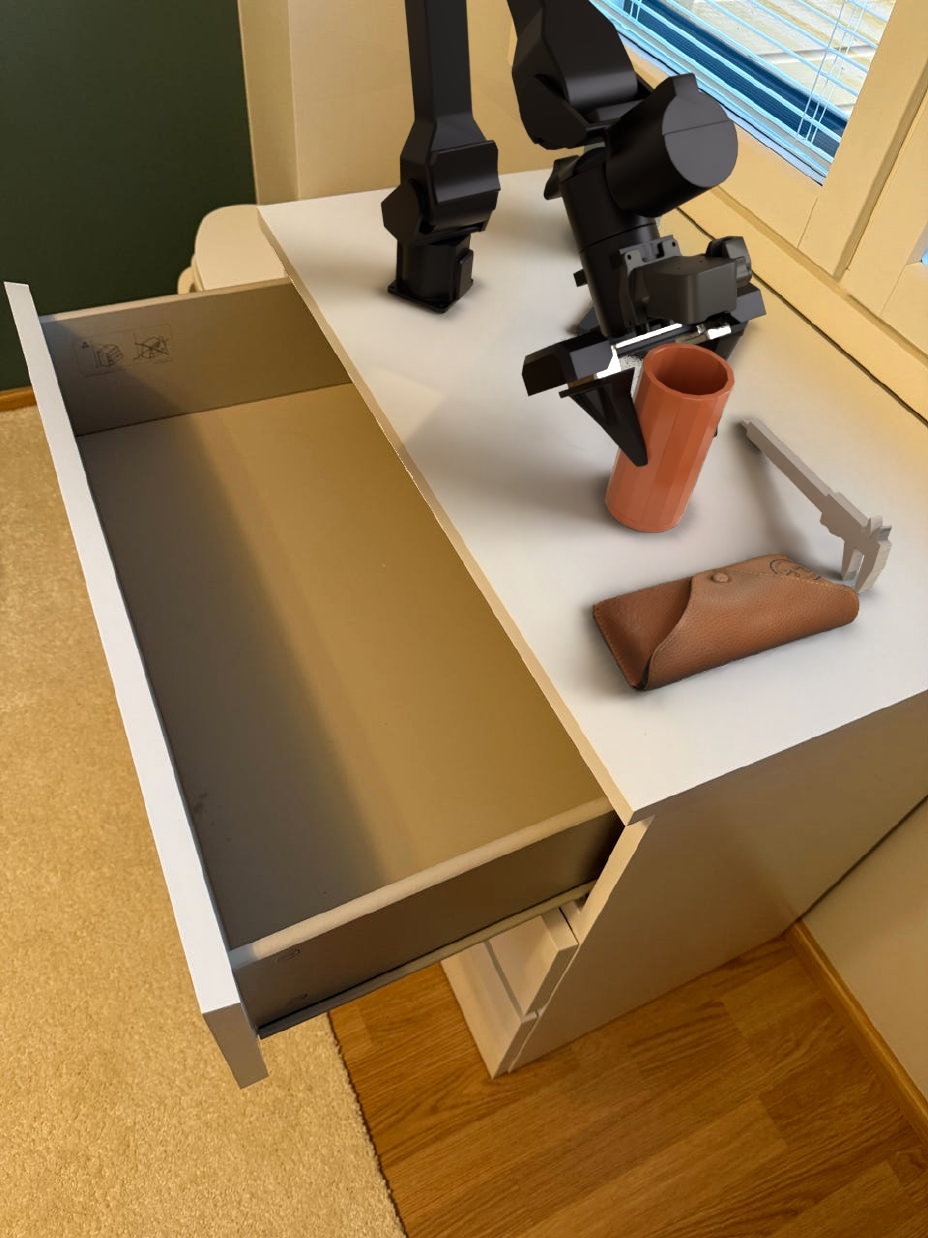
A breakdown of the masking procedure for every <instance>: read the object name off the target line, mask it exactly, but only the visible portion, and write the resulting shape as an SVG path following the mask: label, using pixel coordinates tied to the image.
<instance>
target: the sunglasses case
mask: <svg viewBox="0 0 928 1238" xmlns="http://www.w3.org/2000/svg"><path fill="white" fill-rule="evenodd" d="M853 589H854V588H853V587H851V586H849V585H846V584H842V583H836V582H832V581H831V580H828V579H827V578H825V577H823V576H822V575H820V574H818V573H816V572H815V571H812V570H810V569H808V568H806V567H804V566H803V565H801V564H800V563H797V562H795V561H793V560H791V558H790V557H789V556H788V555H787V554H786V553H776V552H775V553H770V554H766V555H762V556H758V557H753V558H750V559H746V560H743V561H739V562H736V563H735V562H734V563H732V564H729V565H724V566H722V567H716V568H712V569H707V570H704V571H700V572H698V573H695V574H694V575H690V576H686V577H682V578H678V579H676V580H672V581H667V582H664V583H660V584H659V583H658V584H656V585H652V586H649V587H646V588H641V589H638V590H634V591H629V592H627V593H626V592H625V593H623V594H618V595H615V596H612V597H608V598H606V599H603V600H601V601H599V602H596V603H594V604H593V606H592V617H593V619H594V621H595V623H596V624H595V625H596V626H597V627H598V629H599V632H600V634H601V637H602V638H603V640H604V643H605V644H606V647H607V649H608V650H609V651H610V653H611V655H612V657H613V658H614V661H615V663H616V664H617V666H618V667H619V670H620V671H621V673H622V675H623V676H624V678H625V680H626V682H627V683H628V685H629V687H631V688H632V689H633V690H635V691H637V692H640V693H642V692H643V693H645V692H651V691H655V690H657V689H661V688H663V687H667V686H668V685H669V686H670V685H673V684H674V683H675V684H676V683H677V682H681V681H683V680H685V679H688V678H691V677H693V676H696V675H699V674H702V673H704V672H708V671H712V670H714V669H716V668H719V667H722V666H725V665H728V664H730V663H734V662H737V661H740V660H742V659H745V658H748V657H752V656H755V655H758V654H760V653H763V652H766V651H770V650H773V649H775V648H779V647H782V646H785V645H788V644H791V643H794V642H798V641H801V640H803V639H807V638H811V637H813V636H816V635H819V634H822V633H827V632H830V631H833V630H836V629H838V628H841V627H842V628H843V627H844V626H847V625H849V624H851V623H853V622H854V621H855V619H856V618H857V617H858V615H859V611H860V599H859V596H858V594H857V593H856V592H855V591H854V590H853Z"/></svg>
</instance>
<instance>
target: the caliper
mask: <svg viewBox="0 0 928 1238" xmlns="http://www.w3.org/2000/svg"><path fill="white" fill-rule="evenodd" d="M740 424H741V425H742V426H743V427H744V428H745V429H746V434H745V435H746V437H747V438H748V439H749V440H750V441H751V442H752V443H753V444H754V445H755V446H756V447H757V448H758V449H759V450H760V451H761V453H762V454H764V455H765V456H766V457H767V458H768V459H769V461H771V462H772V464H773V465H775V467H776V468H778V469H779V471H780V472H781V473H782V474H784V476H786V478H787V479H788V480H789V481H790V482H791V483H792V484H793V485H794V486H795V487H796V488H797V489H798V490H799V491H800V492H801V493H802V494H803V495H804V496H805V497H806V499H807V500H809V501H810V502H811V503H812V504H813V505H814V507H816V509H817V510H818V511H819V512H820V513H821V514H820V518H819V523H820V524H821V525H822V526H824V527H826V528H827V530H828V532H829V533H830V534H831V535H834V536H835V537H838V538H840V539H842V540H843V548H842V549H843V550H842V558H841V559H842V560H841V567H840V574H841V580H842V581H851V580H854V579H855V578H856V580H855V583H854V586H853V588H852V589H853V590H854V591H855V592H856V594H857V593H859V594H860V593H864V592H869V591H871V589H872V588H873V586H874V585H875V583H876V582H877V580H878V578H879V576H880V575H881V573H882V572H883V570H884V569H885V567H886V564H887V562H888V558H889V556H890V553H891V549H892V546H893V543H892V542H891V541H890V540H889V537H890V533H891V531H892V528H893V525H891V524H890V525H884V523H883V522H884V520H883V519H884V518H883V515H879V516H873V517H869V518H868V517H867V516H866V515H865V514H864V513H863V512H861V510H860V509H859V508H858V507H856V505H854V504H853V502H851V501H850V500H849V499H848V498H847V497H846V496H845V495H844V494H843V493H841V491H838V492H837V491H836V492H835V491H833V490H832V489H831V487H829V486H828V484H826V483H825V482H824V481H823V480H822V478H820V477H819V476H818V475H817V474H816V473H815V472H814V471H813V470H812V469H811V467H809V466H808V465H807V464H806V463H805V462H804V461H803V460H802V459H801V458H800V457H799V456H798V455H797V454H796V453H795V452H794V451H793V450H792V449H791V448H790V447H789V446H788V445H787V444H785V442H784V441H782V440H781V439H780V437H778V436H777V434H775V433H774V432H773V430H772V429H770V427H768V426H767V425H766V424H765V423H764V422H763V421H762V420H761V419H753V418H750V419H741V420H740ZM857 572H858V573H857ZM856 575H857V577H856Z"/></svg>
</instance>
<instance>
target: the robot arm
mask: <svg viewBox="0 0 928 1238" xmlns="http://www.w3.org/2000/svg"><path fill="white" fill-rule="evenodd" d="M467 1H468V0H404V11H405V24H406V34H407V45H408V56H409V67H410V68H409V69H410V80H411V91H412V102H413V103H412V104H413V112H414V113H413V114H414V116H413V117H414V120H413V122H412V125H411V127H410V129H409V133H408V135H407V138H406V140H405V142H404V143H403V144H404V145H403V147H402V150H401V152H400V154H399V184H398V185H397V186H396V188H394V189H393V190H392V191H391V192H390V193H389V194H388V195H387V196H386V197H385V198H384V199H383V200H382V201H381V202H380V210H381V218H382V224H383V227H384V229H385V230H386V231H387V232H388V233H389V234H390V235H391V236H392V237H393V238H394V239H396V257H395V258H396V260H395V263H396V264H395V279H394V280H392V282H391V283H390V284H388V285H387V287H386V291H387V293H388V294H390V295H392V296H395V297H398V298H400V299H402V300H405V301H408V302H411V303H413V304H416V305H419V306H421V307H424V308H426V309H429V310H432V311H435V312H437V313H439V314H446V313H447V312H448V311H449V310H450V309H451V308H452V307H453V306H454V305H455V304H456V303H457V302H458V301H460V300H461V299H462V298H463V297H464V296H465V295H466V294H467V292H469V291H470V289H471V288H472V287H473V286H474V278H472V275H473V267H474V266H473V265H474V256H475V252H474V249H471V239H472V234H475V233H484V232H485V231H486V230H487V227H488V224H489V222H490V219H491V216H492V214H493V211H494V212H495V211H496V209H497V205H498V198H499V195H500V194H499V193H500V191H501V190H502V187H501V182H500V177H499V148H498V145H497V143H496V141H495V140H494V139H487V138H486V136H485V134H484V132H483V131H482V130H481V128H480V126H479V124H478V123H477V122H476V120H475V118H474V113H473V98H472V95H473V93H472V78H471V77H472V76H471V59H470V58H471V56H470V40H469V38H470V37H469V24H468V23H469V20H468V2H467ZM506 4H507V6H508V10H509V12H510V16H511V18H512V22H513V27H514V30H515V35H516V44H515V50H514V55H513V60H512V65H511V70H510V71H511V73H510V75H511V80H512V83H513V87H514V92H515V96H516V100H517V104H518V112H519V117H520V120H521V123H522V126H523V128H524V130H525V132H526V134H527V136H528V138H529V139H530V141H531V142H532V143H533V145H539V146H540V147H542V148H543V149H545V150H546V151H557V150H562V149H567V150H574V149H577V148H583V147H584V146H587V145H592V144H596V143H601V142H604V144H605V147H596V148H593V149H590V150H588V151H587V152H585V153H584V154H583V153H582V154H581V155H580V154H571V155H568V156H564V157H559V158H556V159H554V160H553V164H552V170H551V173H550V175H549V177H548V179H547V181H546V182H545V185H544V188H543V189H544V190H543V198H544V200H546V201H552V200H555V199H560V198H562V202H563V205H564V208H565V213H566V215H567V219H568V223H569V226H570V229H571V234H572V233H573V236H574V240H575V243H576V247H577V249H576V250H577V253H578V257H579V260H580V264H581V267H582V268H581V269H579V270H577V271H575V272H573V273H572V276H573V279H574V282H575V285H576V288H579V287H583V286H586V285H587V288H588V291H589V295H590V298H591V301H592V306H594V308H595V312H596V315H597V319H598V322H599V326H596V327H594V328H591V329H589V330H590V332H588V333H585V334H582V335H580V334H578V335H577V336H573V337H570V338H567V339H564V340H561V341H558V342H556V343H555V342H554V343H553V344H551V345H548V346H546V347H543V348H541V349H538V350H536V351H534V352H531V353H529V354H526V355H525V356H524V360H523V364H522V368H521V377H522V382H523V384H524V387H525V391H526V394H527V396H528V397H531V396H535V395H538V394H541V393H543V392H547V391H549V390H552V389H557V388H559V387H562V386H564V385H566V386H567V388H566V389H563V390H559V391H558V392H557V394H558V396H559V398H560V399H564V398H570V399H571V400H572V401H573V402H574V403H575V404H576V405H578V407H580V408H581V409H582V410H583V411H584V412H585V413H586V414H587V415H588V416H590V417H591V419H593V421H595V422H596V424H598V425H599V426H600V427H601V429H602V430H603V431H604V432H605V433H606V434H607V435H608V437H609V438H610V439H611V440H612V441H613V442H614V443H615V445H616V446H617V448H618V447H619V448H620V449H621V450H622V451H623V452H624V453H625V455H626V456H627V457H628V458H629V459H630V460H631V461H632V463H633V464H634V465H635V466H636V467H642V466H645V465H647V464H648V457H647V451H646V445H645V441H644V438H643V434H642V431H641V427H640V424H639V420H638V417H637V413H636V410H635V406H634V403H633V399H632V397H633V394H632V388H633V384H634V383H633V382H634V377H635V376H634V375H635V373H636V366H632V367H629V368H625V369H623V370H622V365H621V362H620V359H621V358H625V357H628V356H631V355H634V353H637V352H640V351H642V350H645V349H648V348H651V347H654V346H657V345H660V344H663V343H666V342H669V341H672V340H674V339H675V340H676V343H685V344H693V345H697V346H700V347H702V348H705V349H708V350H711V351H712V352H714V353H715V354H717V355H718V356H720V357H721V358H723V359H724V360H725V358H726V356H727V354H728V352H729V351H730V349H731V347H732V346H733V344H734V342H735V341H736V339H737V338H738V337H740V338H741V337H743V336H744V334H745V330H746V328H743V329H740V330H737V331H734V332H731V328H730V327H731V326H734V325H737V324H740V323H743V322H746V321H751V320H754V319H758V318H760V317H763V316H766V315H767V310H766V307H765V303H764V298H763V295H762V290H761V289H760V288H759V287H758V286H756V285H755V284H754V283H752V282H751V281H752V278H753V271H752V259H751V255H750V253H749V250H748V247H747V244H746V241H745V238H744V236H743V235H727V236H722V237H719V238H715V239H712V240H710V241H709V242H708V244H707V247H706V249H705V252H701V253H697V254H695V255H694V254H693V255H683V254H682V251H681V249H680V245H679V242H678V240H677V239H676V238H674V234H673V233H672V234H668V235H665V236H661V235H660V234H661V233H660V231H659V227H657V225H656V220H655V218H657V217H660V216H662V217H663V216H664V215H666V214H668V213H670V212H672V211H673V210H676V209H677V208H680V207H681V206H683V205H685V204H686V203H689V202H690V201H692V200H694V199H696V198H697V197H699V196H701V195H703V194H705V193H707V192H708V191H711V190H712V189H714V188H715V187H717V186H719V185H721V184H722V183H724V182H726V180H727V179H728V178H729V177H730V176H731V175H732V173H733V171H734V169H735V166H736V164H737V160H738V156H739V141H738V140H739V138H738V131H737V129H736V125H735V122H734V120H732V119H730V118H729V116H728V114H727V112H726V110H724V108H723V107H722V105H721V104H720V103H719V102H718V101H717V100H716V99H714V98H713V96H711V95H710V94H707V93H705V92H703V91H700V89H699V85H698V81H697V77H696V74H695V73H694V72H691V71H690V72H686V73H681V74H676V75H669V76H668V77H666V78H665V79H664V80H663V81H661V82H660V83H658V84H657V85H656V86H655V87H653V86H652V85H651V84H650V83H649V82H648V81H646V80H645V79H644V78H643V77H642V76H641V75H640V73H638V72H637V71H636V70H635V67H634V65H633V62H632V60H631V57H630V55H629V54H628V51H627V49H626V47H625V45H624V43H623V41H622V38H621V37H620V34H619V32H618V30H617V28H616V26H615V24H614V23H613V22H612V21H611V20H610V19H609V17H607V16H606V15H605V14H604V13H603V12H602V11H601V10H600V9H599V8H598V7H597V6H596V5H595V4H593V2H591V1H590V0H506ZM659 324H660V325H661V329H659V330H656V331H653V332H652V329H651V327H654V326H656V325H659ZM632 332H635V335H636V337H635V338H632V339H629V340H626V339H625V335H627V334H630V333H632ZM660 334H661V335H660ZM657 335H658V336H657ZM654 336H655V337H654ZM651 337H652V338H651ZM648 338H649V339H648ZM645 339H646V340H645ZM642 340H643V341H642ZM639 341H640V342H639ZM636 342H637V343H636ZM633 343H634V344H633ZM630 344H631V345H630ZM627 345H628V346H627ZM718 430H719V426H718V427H717V430H716V432H715V435H714V438H716V437H717V436H718Z"/></svg>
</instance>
